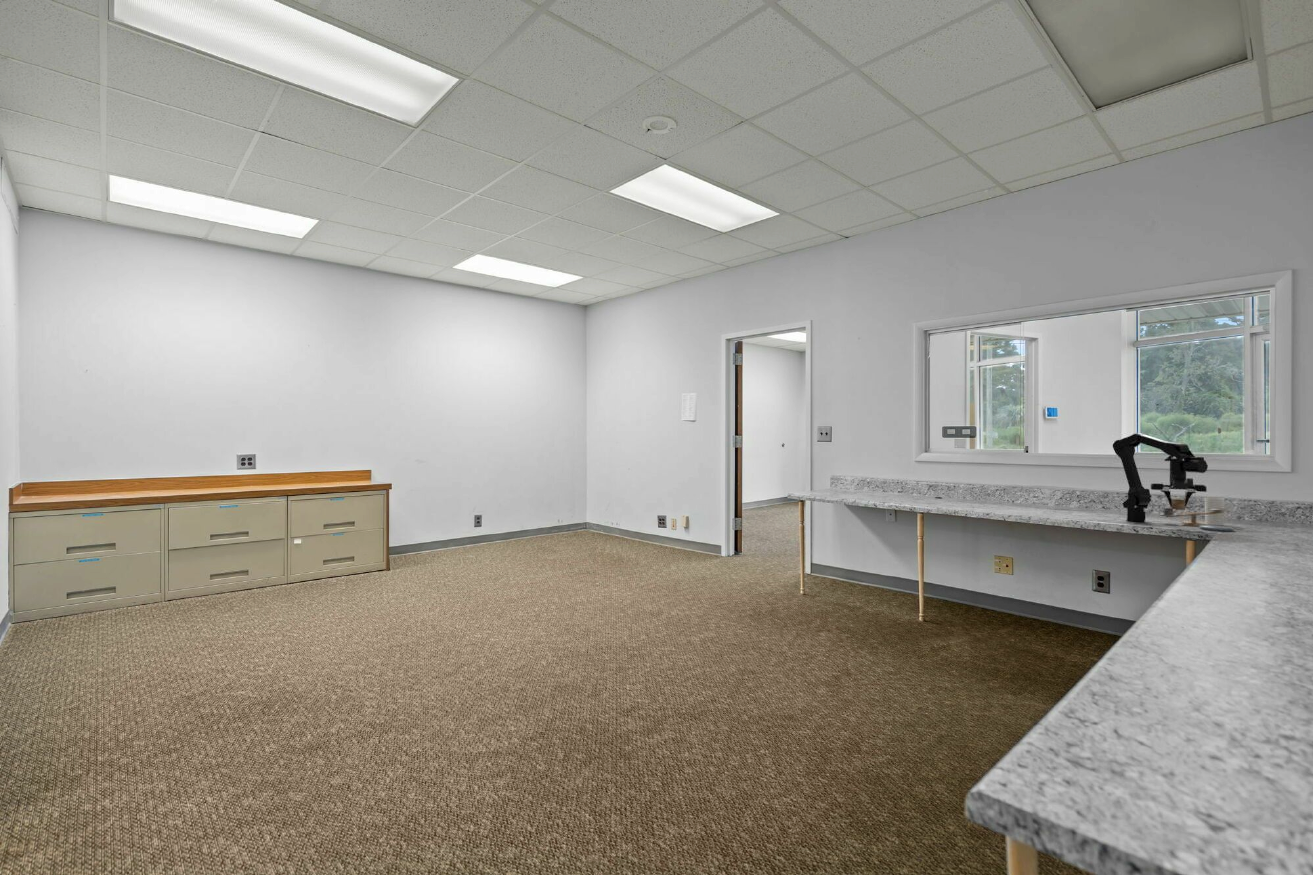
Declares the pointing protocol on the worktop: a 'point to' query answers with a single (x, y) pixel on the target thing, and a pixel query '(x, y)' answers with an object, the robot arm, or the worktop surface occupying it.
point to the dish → (1216, 528)
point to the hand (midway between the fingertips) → (1177, 506)
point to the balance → (1169, 513)
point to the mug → (1219, 517)
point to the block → (1178, 504)
